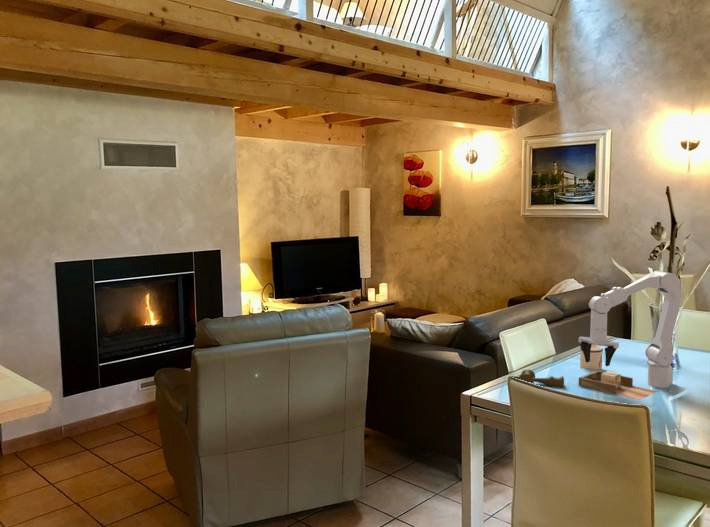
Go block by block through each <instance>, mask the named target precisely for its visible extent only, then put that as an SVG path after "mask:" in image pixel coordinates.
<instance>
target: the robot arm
mask: <svg viewBox="0 0 710 527" xmlns="http://www.w3.org/2000/svg"><path fill="white" fill-rule="evenodd" d="M681 282H682V281H681V279H680V278H679V277H678V276H677V275H676V274H675V273H673V272H666V271H663V270H654V271H653V272H650V273H647V274H646V275H645V276H643V277H641V278H639V279H637V280H636V281H634V282H632V283H629V285H626V286H625V287H620V286H618V287H617V286H613V287H612V288H611V289H610V290H609V291H606V292H605V293H604V292H602V293H600V296H598V295H596V296H595V295H594V296H593V297H591V299H589V302H588V303H587V304H588V307H589V308H590V311H591V312H590V331H589V332H590V334H589V336H579V337H578V343H580V344H579V348H580V347H581V349H582V351H583V353H584V356H585V361H586V362H590V351H591V345H592V344H595V345H597V346H600V347H601V346H602V347H604V355H605V361H604V362H605V367H609V366H611V362H612V361H611V360H612V358H613V356H614V354H615V353H616V351H617V349H618V348H620V347H619V344H620V343H619V342H617V341H614V340H613V341H612V340H610V339H607V337H608V312H610V310H611V308H613V307H615V306H618V305H620V304H622V303H624V302H625V301H627V300H628V298H629V296H630V295H633V294H636V293H638V292H641V291H644V290H645V289H647V288H653V289H657V290H659V291H660V292H661V294H662V295H663V296H664V301H663V305H662V309H661V312H660V317H659V322H658V325H657V328H656V332H655V336H654V337H653V338H651V340H650V342H649V345H648V346H647V347H646V348H645V352H644V353H645V356H646V358H647V359H648V362H647V385H648V386H649V387H652V388H657V389H658V388H659V389H665V388H669V387H670V386H671V385H673V383H674V382H673V381H674V380H673V378H674V369H673V367H672V365H671V364H672V363H673V361H674V358H675V357H674V353H673V352H674V346H673V344H672V338H673V334H674V331H675V328H676V323H677V320H678V315H679V312H680V307H681V303H682V299H683V292H682V288H681Z"/></svg>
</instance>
